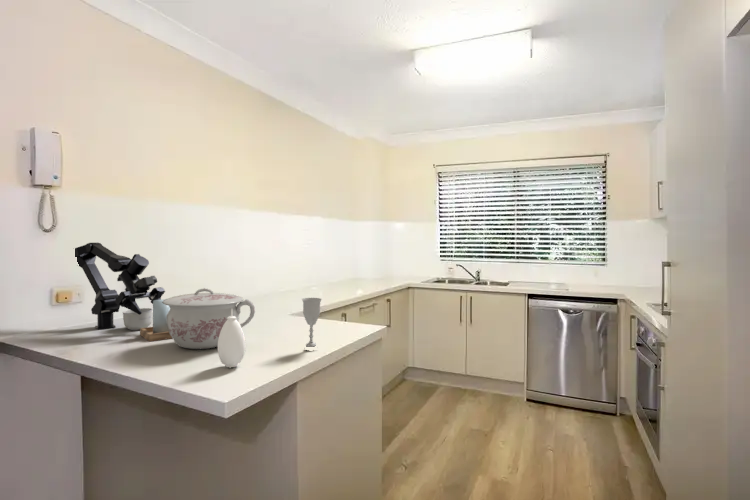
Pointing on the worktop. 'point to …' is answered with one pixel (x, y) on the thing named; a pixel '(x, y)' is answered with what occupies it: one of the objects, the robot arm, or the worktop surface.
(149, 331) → the tray
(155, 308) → the pale blue rounded cylinder
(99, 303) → the robot arm
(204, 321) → the chamber pot
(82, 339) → the worktop surface
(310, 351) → the worktop surface
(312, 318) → the chalice
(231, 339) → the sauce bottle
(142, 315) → the teacup
